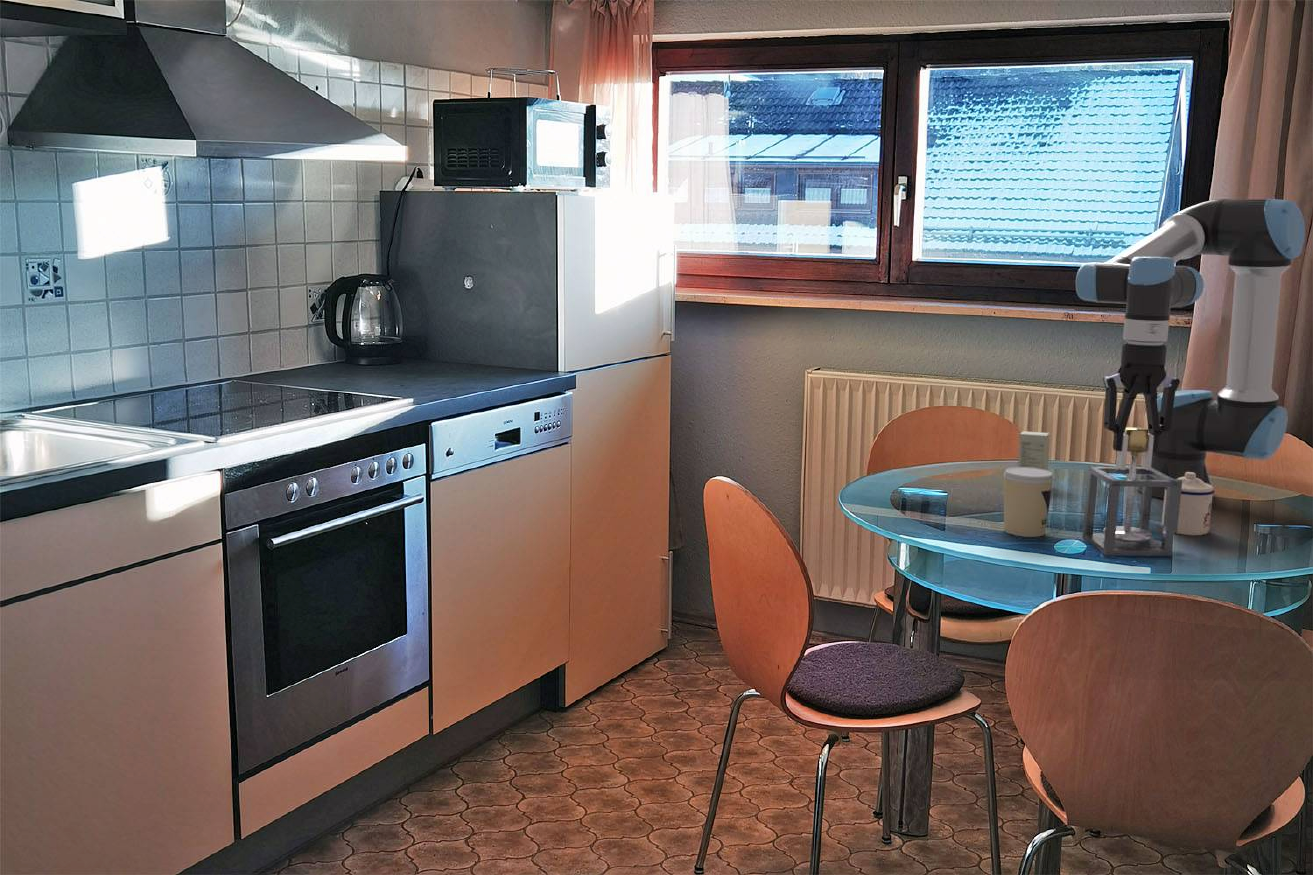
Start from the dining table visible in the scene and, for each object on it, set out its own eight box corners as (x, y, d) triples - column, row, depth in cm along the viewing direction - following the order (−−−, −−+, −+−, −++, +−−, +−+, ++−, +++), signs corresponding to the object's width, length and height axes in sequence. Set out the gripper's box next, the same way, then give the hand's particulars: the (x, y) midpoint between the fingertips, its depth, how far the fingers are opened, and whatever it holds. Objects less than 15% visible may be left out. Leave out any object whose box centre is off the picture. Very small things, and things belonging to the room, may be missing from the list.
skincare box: (1047, 485, 274) (1051, 432, 272) (1044, 488, 270) (1048, 435, 268) (1018, 481, 277) (1022, 430, 274) (1015, 485, 273) (1019, 433, 271)
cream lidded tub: (1052, 539, 229) (1057, 478, 226) (1001, 536, 231) (1005, 475, 228) (1046, 527, 238) (1051, 468, 235) (997, 523, 240) (1002, 465, 237)
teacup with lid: (1214, 537, 232) (1221, 479, 229) (1164, 534, 234) (1170, 476, 231) (1200, 522, 243) (1206, 466, 241) (1153, 519, 245) (1158, 463, 243)
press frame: (1160, 538, 230) (1167, 467, 228) (1188, 556, 219) (1195, 482, 216) (1082, 537, 230) (1088, 466, 228) (1105, 555, 219) (1112, 480, 216)
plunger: (1140, 530, 228) (1150, 425, 224) (1158, 542, 220) (1169, 433, 216) (1096, 529, 228) (1105, 424, 224) (1112, 541, 220) (1122, 433, 216)
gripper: (1105, 344, 213) (1094, 472, 218) (1200, 345, 214) (1187, 473, 218) (1090, 339, 221) (1080, 463, 225) (1182, 340, 221) (1170, 464, 225)
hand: (1133, 468), depth 222 cm, fingers closed on plunger, 4 cm apart
